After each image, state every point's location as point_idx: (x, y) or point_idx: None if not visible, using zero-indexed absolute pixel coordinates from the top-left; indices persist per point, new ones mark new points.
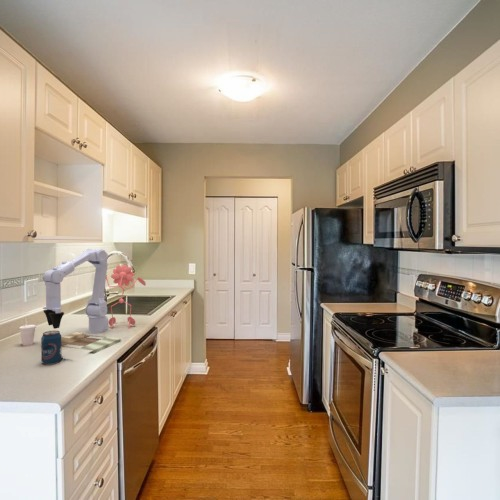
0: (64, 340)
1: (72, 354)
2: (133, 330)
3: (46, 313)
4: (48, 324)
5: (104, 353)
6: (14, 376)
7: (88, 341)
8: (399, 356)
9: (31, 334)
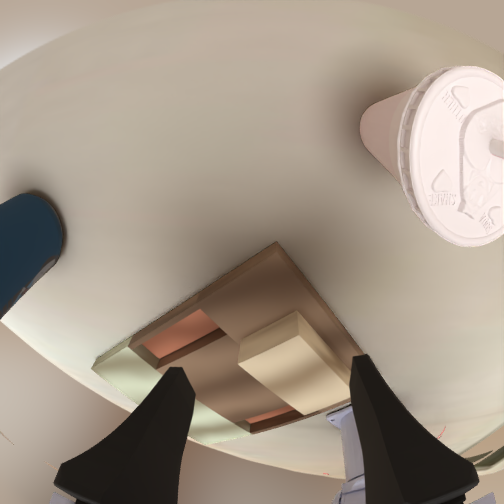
0: (268, 336)
1: (107, 310)
2: (317, 465)
3: (392, 477)
4: (368, 358)
5: (94, 376)
6: None
7: (225, 394)
8: (56, 469)
9: (389, 165)
